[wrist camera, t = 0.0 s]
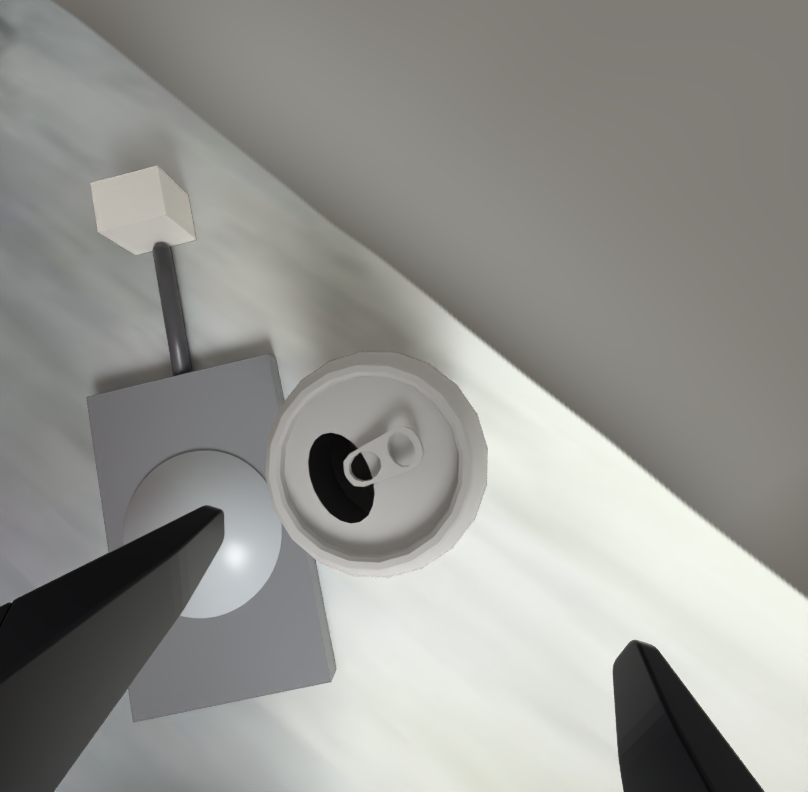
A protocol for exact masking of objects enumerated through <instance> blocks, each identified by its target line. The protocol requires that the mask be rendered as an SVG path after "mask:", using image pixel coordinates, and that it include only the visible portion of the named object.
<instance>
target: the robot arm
mask: <svg viewBox="0 0 808 792" xmlns="http://www.w3.org/2000/svg"><path fill="white" fill-rule="evenodd" d="M224 535H225V526H224V512H223V510H222V509H219V508H216V507H213V506H210V505H205V506H202V507H199V508H197V509H195V510H193V511H191V512H189V513H187V514H185V515H183V516H181V517H179V518H177V519H175V520H173V521H171V522H169V523H167V524H165V525H163V526H161V527H159V528H157V529H155V530H153V531H151V532H149V533H147V534H145V535H143V536H141V537H139V538H137V539H135V540H133V541H131V542H129V543H127V544H125V545H123V546H121V547H119V548H117V549H115V550H113V551H111V552H109V553H107V554H105V555H103V556H101V557H99V558H97V559H95V560H93V561H91V562H89V563H87V564H85V565H83V566H81V567H79V568H77V569H75V570H73V571H71V572H69V573H67V574H65V575H63V576H61V577H59V578H57V579H55V580H53V581H51V582H49V583H47V584H45V585H43V586H41V587H39V588H37V589H35V590H33V591H31V592H29V593H27V594H25V595H23V596H21V597H19V598H17V599H15V600H14V601H13V603H7V604H5V605H3V606H1V607H0V792H54V790H55V789H56V788H57V786H58V785H59V783H60V782H61V781H62V779H63V778H64V777H65V775H66V774H67V772H68V771H69V770H70V768H71V767H72V765H73V764H74V763H75V761H76V760H77V758H78V757H79V756H80V754H81V753H82V751H83V750H84V749H85V747H86V746H87V744H88V743H89V742H90V740H91V739H92V738H93V736H94V735H95V733H96V732H97V731H98V729H99V728H100V726H101V725H102V724H103V722H104V721H105V719H106V718H107V717H108V715H109V714H110V712H111V711H112V710H113V708H114V707H115V705H116V704H117V703H118V701H119V700H120V699H121V697H122V696H123V694H124V693H125V692H126V690H127V689H128V687H129V686H130V685H131V683H132V682H133V680H134V679H135V678H136V676H137V675H138V673H139V672H140V671H141V669H142V668H143V666H144V665H145V664H146V662H147V661H148V660H149V658H150V657H151V655H152V654H153V653H154V651H155V650H156V648H157V647H158V646H159V644H160V643H161V641H162V640H163V639H164V637H165V636H166V634H167V633H168V632H169V630H170V629H171V627H172V626H173V625H174V623H175V622H176V620H177V619H178V618H179V616H180V615H181V613H182V612H183V610H184V609H185V607H186V605H187V604H188V602H189V600H190V599H191V597H192V595H193V594H194V592H195V590H196V588H197V587H198V585H199V583H200V581H201V580H202V578H203V576H204V575H205V573H206V571H207V569H208V568H209V566H210V564H211V562H212V561H213V559H214V557H215V556H216V554H217V552H218V550H219V549H220V547H221V545H222V543H223V540H224ZM613 685H614V701H615V716H616V732H617V746H618V757H619V764H620V772H621V778H622V784H623V791H624V792H764V790H763V789H762V788H761V786H760V785H759V784H758V782H757V781H756V780H755V778H754V777H753V776H752V774H751V773H750V772H749V770H748V769H747V768H746V766H745V765H744V764H743V762H742V761H741V760H740V758H739V757H738V756H737V754H736V753H735V752H734V750H733V749H732V748H731V746H730V745H729V744H728V742H727V741H726V740H725V738H724V737H723V736H722V734H721V733H720V732H719V730H718V729H717V728H716V726H715V725H714V724H713V722H712V721H711V720H710V718H709V717H708V716H707V714H706V713H705V712H704V710H703V709H702V708H701V706H700V705H699V704H698V702H697V701H696V700H695V698H694V697H693V696H692V694H691V693H690V692H689V690H688V689H687V688H686V686H685V685H684V684H683V682H682V681H681V680H680V678H679V677H678V676H677V674H676V673H675V672H674V670H673V669H672V668H671V666H670V665H669V664H668V662H667V661H666V660H665V658H664V657H663V656H662V654H661V653H660V652H659V650H658V649H657V648H656V647H654V646H653V645H651V644H648V643H645V642H641V641H638V640H632V641H630V642H629V643H628V645H627V646H626V647H625V648H624V650H623V651H622V652H621V654H620V655H619V656H618V657H617V659H616V660H615V662H614V665H613Z"/></svg>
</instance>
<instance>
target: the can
mask: <svg viewBox="0 0 808 792" xmlns="http://www.w3.org/2000/svg"><path fill="white" fill-rule="evenodd" d="M487 453H488V448H487V445H486V441H485V438H484V435H483V431H482V428H481V425H480V422H479V418H478V415H477V413H476V412H475V410H474V409H473V407H472V406H471V404H470V403H469V401H468V400H467V399H466V397H465V396H464V394H463V393H462V391H461V390H460V389H459V387H458V386H457V385H456V384H455V383H454V382H452V381H451V380H450V379H449V378H447V377H446V376H445V375H443V374H442V373H441V372H439V371H438V370H437V369H435V368H434V367H433V366H431V365H430V364H428V363H426V362H423V361H420V360H417V359H414V358H411V357H408V356H405V355H403V354H400V353H397V352H359V353H356V354H353V355H349V356H346V357H342V358H339V359H336V360H332V361H329V362H328V363H326V364H325V365H323V366H322V367H320V368H319V369H317V370H316V371H315V372H313V373H312V374H310V375H309V376H307V377H306V378H304V379H303V380H301V381H300V383H299V384H298V385H297V386H296V388H295V389H294V390H293V392H292V393H291V394H290V395H289V397H288V398H287V399H286V400H285V402H284V403H283V404H282V405H281V407H280V408H279V411H278V414H277V416H276V419H275V421H274V424H273V427H272V429H271V432H270V434H269V437H268V440H267V453H266V468H265V477H266V481H267V485H268V489H269V493H270V497H271V501H272V505H273V509H274V511H275V512H276V514H277V516H278V517H279V519H280V521H281V522H282V524H283V526H284V527H285V529H286V530H287V532H288V534H289V535H290V537H291V539H292V540H293V541H295V542H296V543H297V544H298V545H299V546H300V547H302V548H303V549H304V550H305V551H306V552H307V553H309V554H310V555H311V556H312V557H313V558H314V559H316V560H317V561H318V562H319V563H322V564H324V565H327V566H329V567H332V568H334V569H337V570H339V571H342V572H344V573H346V574H349V575H351V576H364V577H381V578H389V577H393V576H397V575H400V574H404V573H408V572H411V571H415V570H418V569H422V568H424V567H425V566H427V565H428V564H430V563H431V562H433V561H434V560H436V559H437V558H439V557H440V556H442V555H443V554H445V553H446V552H448V551H449V550H451V549H452V548H453V547H454V546H455V545H456V543H457V542H458V541H459V539H460V538H461V537H462V535H463V534H464V533H465V531H466V530H467V529H468V527H469V526H470V525H471V524H472V522H473V521H474V520H475V518H476V515H477V512H478V509H479V506H480V503H481V500H482V497H483V494H484V492H485V489H486V486H487Z"/></svg>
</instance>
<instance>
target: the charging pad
mask: <svg viewBox="0 0 808 792" xmlns="http://www.w3.org/2000/svg"><path fill="white" fill-rule="evenodd" d="M90 184H91V191H92V197H93V204H94V210H95V217H96V223H97V230H98V232H99V233H100V234H102V235H103V236H105V237H107V238H108V239H110V240H112V241H113V242H115V243H117V244H118V245H120V246H121V247H123V248H125V249H126V250H128V251H130V252H131V253H133V254H135V255H138V254H142V253H146V252H150V251H153V256H154V262H155V268H156V274H157V280H158V286H159V292H160V298H161V304H162V310H163V316H164V322H165V328H166V334H167V340H168V346H169V352H170V358H171V364H172V370H173V377H169V378H164V379H160V380H156V381H152V382H148V383H143V384H139V385H135V386H131V387H127V388H122V389H118V390H114V391H110V392H106V393H101V394H97V395H93V396H89V397H86V398H87V405H88V411H89V418H90V425H91V432H92V439H93V446H94V453H95V460H96V467H97V474H98V481H99V488H100V495H101V502H102V509H103V516H104V523H105V530H106V537H107V543H108V550H109V552H111V551H113V550H115V549H117V548H119V547H121V546H123V545H125V544H127V543H129V542H131V541H133V540H135V539H137V538H139V537H141V536H143V535H145V534H147V533H149V532H151V531H153V530H155V529H157V528H159V527H161V526H163V525H165V524H167V523H169V522H171V521H173V520H175V519H177V518H179V517H181V516H183V515H185V514H187V513H189V512H191V511H193V510H195V509H197V508H199V507H202V506H205V505H210V506H213V507H216V508H219V509H222V510H223V512H224V526H225V535H224V540H223V543H222V545H221V547H220V549H219V550H218V552H217V554H216V556H215V557H214V559H213V561H212V562H211V564H210V566H209V568H208V569H207V571H206V573H205V575H204V576H203V578H202V580H201V581H200V583H199V585H198V587H197V588H196V590H195V592H194V594H193V595H192V597H191V599H190V600H189V602H188V604H187V605H186V607H185V609H184V610H183V612H182V613H181V615H180V616H179V618H178V619H177V620H176V622H175V623H174V625H173V626H172V627H171V629H170V630H169V632H168V633H167V634H166V636H165V637H164V639H163V640H162V641H161V643H160V644H159V646H158V647H157V648H156V650H155V651H154V653H153V654H152V655H151V657H150V658H149V660H148V661H147V662H146V664H145V665H144V666H143V668H142V669H141V671H140V672H139V673H138V675H137V676H136V678H135V679H134V680H133V682H132V683H131V685H130V686H129V687H128V689H129V696H130V703H131V710H132V717H133V722H137V721H142V720H147V719H152V718H157V717H162V716H167V715H172V714H176V713H181V712H186V711H191V710H196V709H201V708H206V707H211V706H216V705H221V704H225V703H230V702H235V701H240V700H245V699H250V698H255V697H260V696H265V695H270V694H274V693H279V692H284V691H289V690H294V689H299V688H304V687H309V686H314V685H319V684H324V683H328V682H331V681H332V679H333V676H334V674H335V671H336V665H335V660H334V655H333V649H332V644H331V639H330V634H329V629H328V624H327V619H326V614H325V608H324V603H323V598H322V593H321V588H320V583H319V578H318V573H317V567H316V562H315V559H314V558H313V557H312V556H311V555H310V554H309V553H307V552H306V551H305V550H304V549H303V548H302V547H300V546H299V545H298V544H297V543H296V542H295V541H293V540H292V539H291V537H290V535H289V534H288V532H287V530H286V529H285V527H284V526H283V524H282V522H281V521H280V519H279V517H278V516H277V514H276V512H275V511H274V509H273V505H272V501H271V497H270V493H269V489H268V485H267V481H266V477H265V468H266V453H267V440H268V437H269V434H270V432H271V429H272V427H273V424H274V421H275V419H276V416H277V414H278V411H279V408H280V407H281V405H282V404H283V403H284V398H283V393H282V388H281V383H280V378H279V373H278V368H277V362H276V358H275V357H273V356H271V355H269V354H265V355H261V356H257V357H252V358H248V359H244V360H240V361H236V362H231V363H227V364H223V365H219V366H215V367H210V368H206V369H202V370H198V371H194V372H192V369H191V363H190V357H189V352H188V346H187V340H186V334H185V328H184V323H183V317H182V311H181V305H180V299H179V294H178V288H177V282H176V276H175V270H174V265H173V259H172V253H171V249H170V248H169V247H170V246H174V245H178V244H182V243H186V242H190V241H194V240H196V236H195V230H194V224H193V219H192V213H191V208H190V202H189V197H188V195H187V194H186V193H185V192H184V191H183V190H182V189H181V188H180V187H179V186H178V185H177V184H176V183H175V182H174V181H173V180H172V179H171V178H170V177H169V176H168V175H167V174H166V173H165V172H164V171H163V170H162V169H161V168H160V167H159V166H158V165H157V166H153V167H149V168H145V169H141V170H137V171H134V172H130V173H126V174H122V175H118V176H114V177H111V178H107V179H103V180H99V181H95V182H91V183H90Z"/></svg>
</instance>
